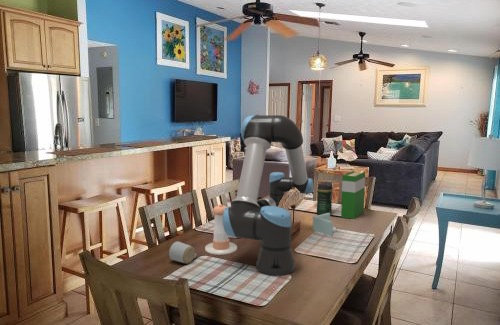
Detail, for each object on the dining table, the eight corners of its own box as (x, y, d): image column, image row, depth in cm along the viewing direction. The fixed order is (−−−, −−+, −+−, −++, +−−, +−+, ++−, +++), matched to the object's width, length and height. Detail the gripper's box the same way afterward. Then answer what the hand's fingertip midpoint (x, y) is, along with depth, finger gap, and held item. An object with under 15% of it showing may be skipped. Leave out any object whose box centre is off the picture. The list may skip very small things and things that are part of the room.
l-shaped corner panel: (331, 237, 187) (331, 222, 186) (312, 231, 196) (312, 216, 195) (346, 232, 194) (347, 217, 193) (328, 226, 204) (328, 212, 203)
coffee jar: (328, 216, 220) (329, 184, 217) (315, 215, 223) (315, 183, 221) (333, 212, 228) (334, 181, 226) (320, 211, 232) (320, 180, 229)
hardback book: (351, 210, 234) (353, 170, 230) (363, 212, 230) (365, 172, 226) (341, 217, 219) (342, 175, 216) (353, 219, 215) (355, 176, 212)
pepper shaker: (224, 251, 166) (223, 207, 163) (209, 248, 169) (209, 205, 166) (232, 245, 172) (232, 203, 169) (218, 243, 175) (218, 201, 173)
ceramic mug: (184, 267, 151) (184, 248, 150) (168, 262, 156) (168, 244, 155) (201, 258, 160) (201, 240, 159) (186, 254, 164) (186, 237, 164)
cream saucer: (243, 249, 170) (243, 247, 170) (218, 257, 161) (218, 255, 161) (223, 241, 180) (223, 239, 180) (198, 248, 171) (198, 246, 171)
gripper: (285, 218, 184) (256, 229, 168) (245, 209, 200) (216, 218, 184) (285, 203, 183) (256, 212, 167) (245, 195, 199) (215, 203, 183)
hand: (235, 215), depth 176 cm, fingers open, 13 cm apart
